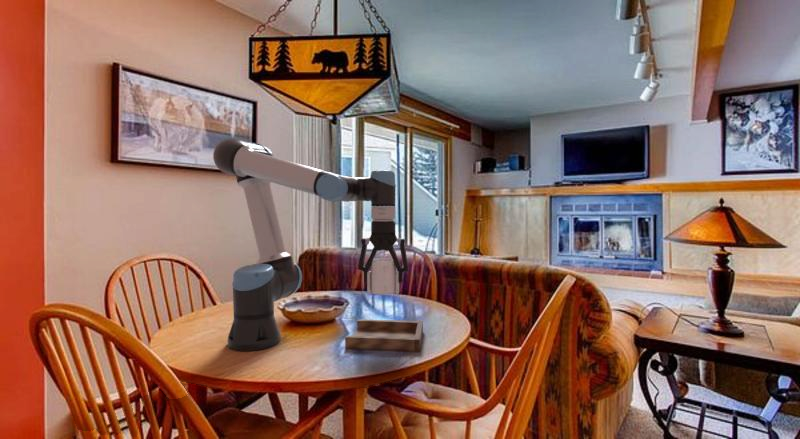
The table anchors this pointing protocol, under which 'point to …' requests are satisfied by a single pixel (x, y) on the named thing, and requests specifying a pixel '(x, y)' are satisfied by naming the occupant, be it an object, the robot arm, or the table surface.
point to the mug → (383, 276)
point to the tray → (386, 335)
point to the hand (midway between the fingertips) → (383, 292)
